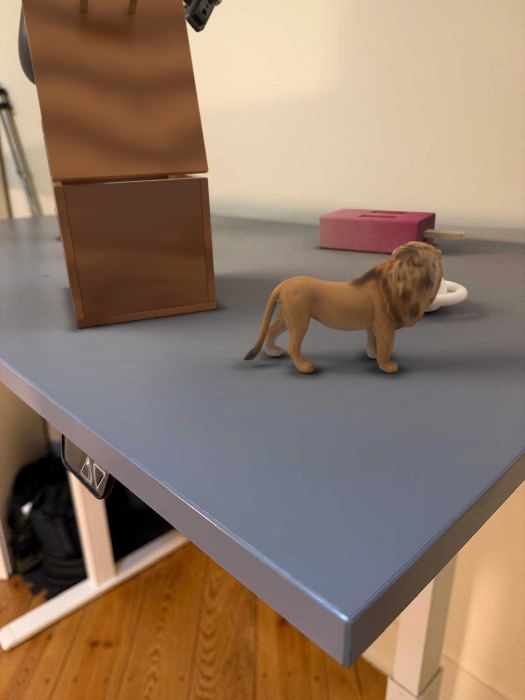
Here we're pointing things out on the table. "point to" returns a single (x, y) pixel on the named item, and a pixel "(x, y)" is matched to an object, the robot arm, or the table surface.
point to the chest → (136, 247)
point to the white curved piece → (448, 295)
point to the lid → (115, 88)
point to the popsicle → (379, 230)
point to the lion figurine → (356, 304)
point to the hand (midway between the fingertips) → (170, 36)
